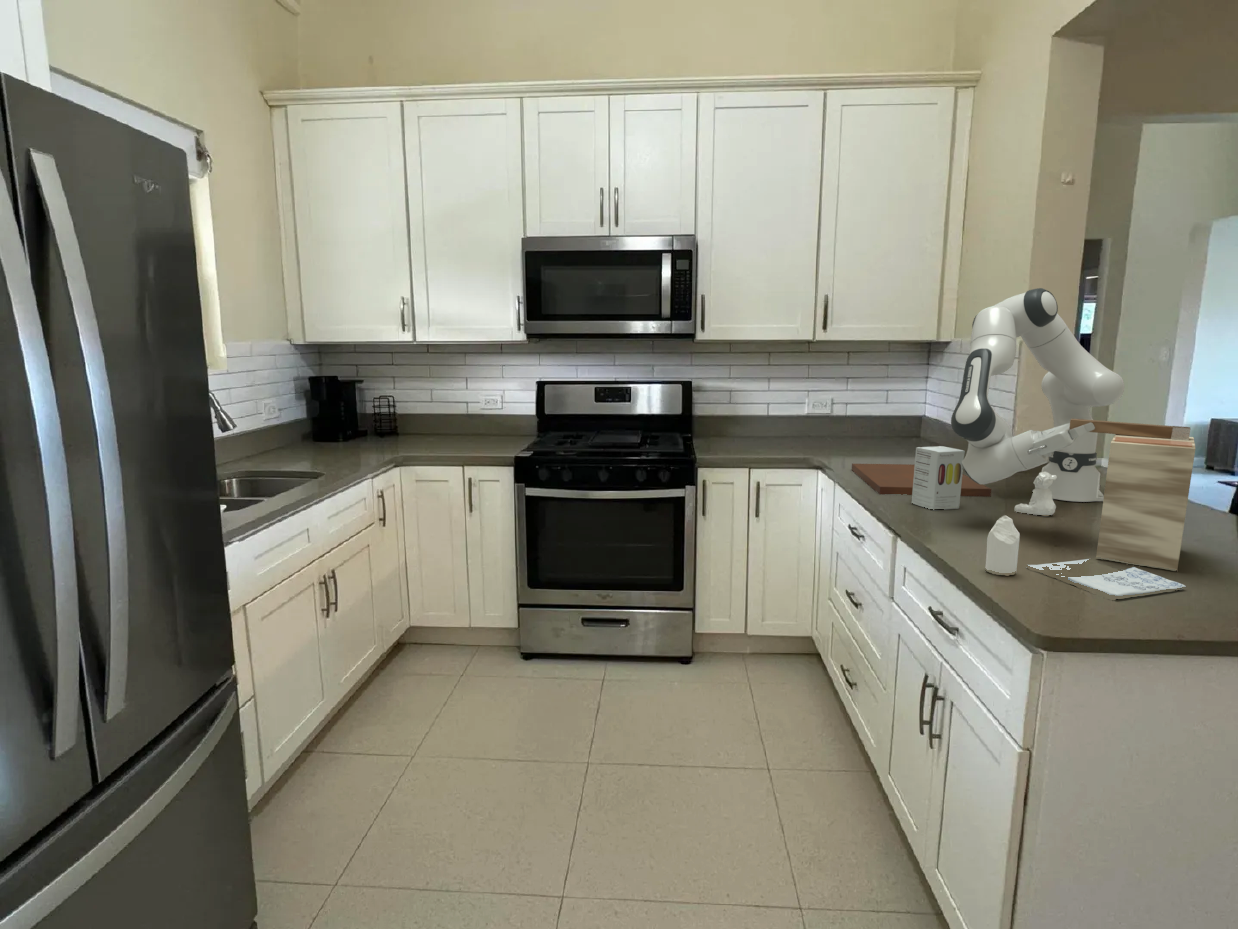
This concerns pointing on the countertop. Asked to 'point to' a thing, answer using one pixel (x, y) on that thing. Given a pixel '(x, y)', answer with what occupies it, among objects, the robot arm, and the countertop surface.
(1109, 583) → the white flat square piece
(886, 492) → the reddish brown board
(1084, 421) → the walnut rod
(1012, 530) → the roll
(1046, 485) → the white creature statuette
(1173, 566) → the birch shelf
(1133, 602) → the countertop surface
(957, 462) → the supplement box
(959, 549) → the countertop surface
